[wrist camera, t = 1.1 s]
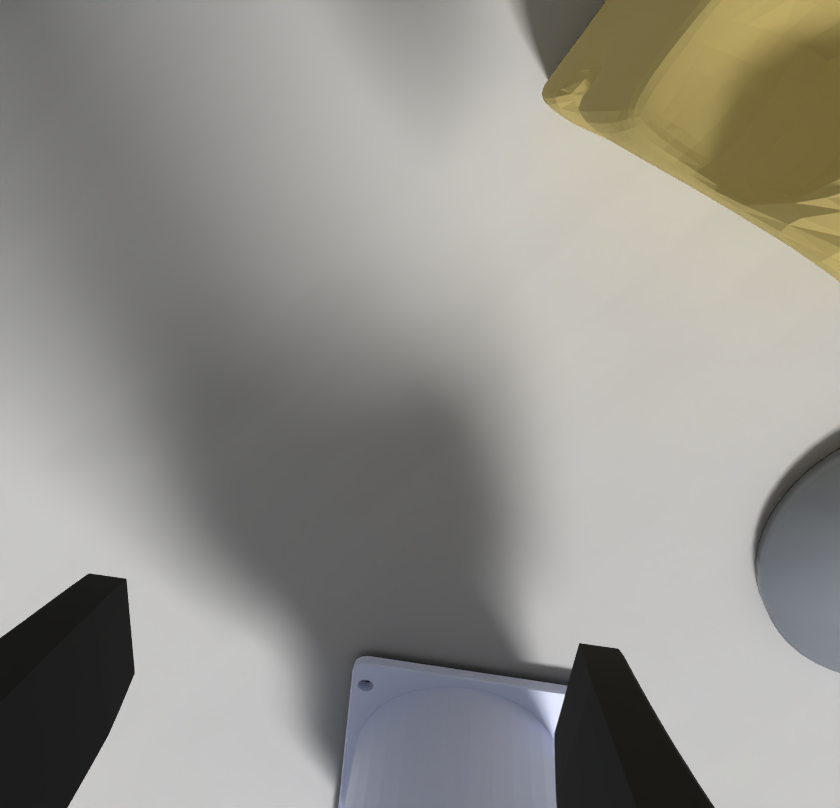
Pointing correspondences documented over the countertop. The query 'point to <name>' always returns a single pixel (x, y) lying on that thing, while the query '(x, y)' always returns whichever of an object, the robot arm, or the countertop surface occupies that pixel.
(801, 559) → the coaster
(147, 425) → the countertop surface
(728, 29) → the cheese
